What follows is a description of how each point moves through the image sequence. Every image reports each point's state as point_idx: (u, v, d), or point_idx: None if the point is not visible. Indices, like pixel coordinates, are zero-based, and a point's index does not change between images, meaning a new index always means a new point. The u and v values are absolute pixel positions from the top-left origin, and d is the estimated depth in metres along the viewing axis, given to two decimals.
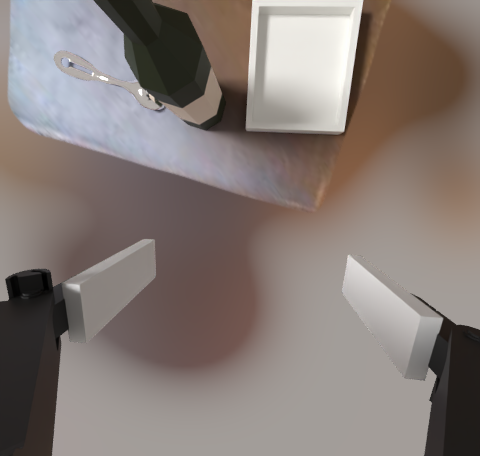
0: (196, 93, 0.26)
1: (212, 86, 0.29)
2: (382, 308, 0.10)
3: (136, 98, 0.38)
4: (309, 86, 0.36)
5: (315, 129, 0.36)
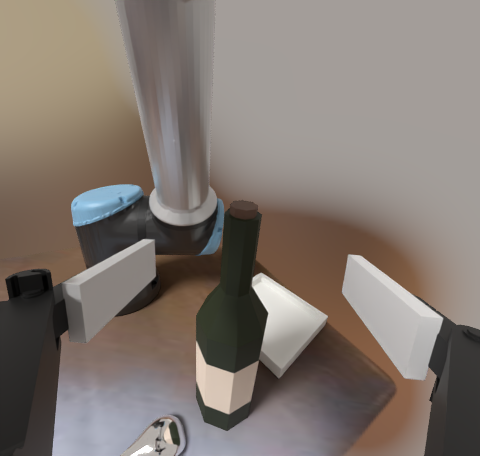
0: None
1: None
2: (382, 308, 0.10)
3: None
4: (281, 316, 0.46)
5: (316, 328, 0.42)
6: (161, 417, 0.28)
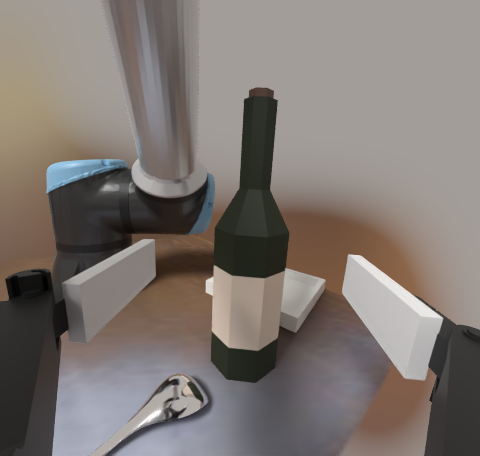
0: None
1: None
2: (382, 308, 0.10)
3: (170, 413, 0.19)
4: None
5: (318, 287, 0.41)
6: (173, 374, 0.23)
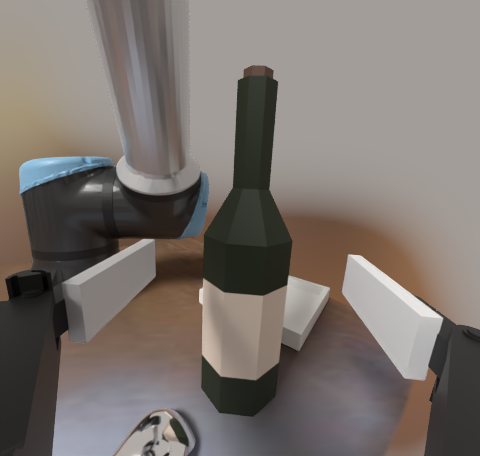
0: None
1: None
2: (382, 308, 0.10)
3: None
4: None
5: (322, 297, 0.38)
6: (153, 410, 0.19)
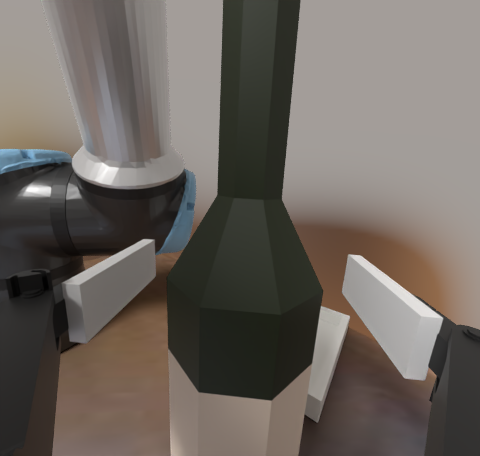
0: None
1: None
2: (382, 308, 0.10)
3: None
4: None
5: (343, 332, 0.29)
6: None
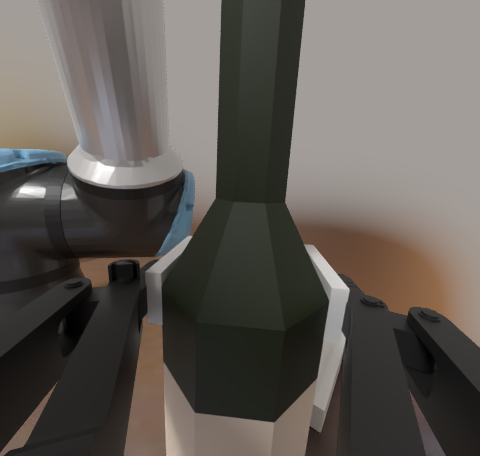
0: None
1: None
2: None
3: None
4: None
5: None
6: None
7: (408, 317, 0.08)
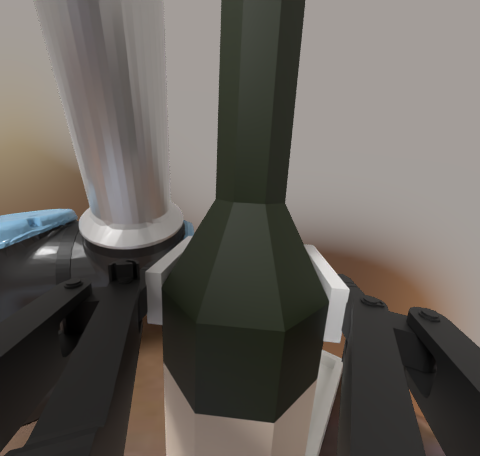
0: None
1: None
2: None
3: None
4: None
5: (336, 380, 0.30)
6: None
7: (408, 317, 0.08)
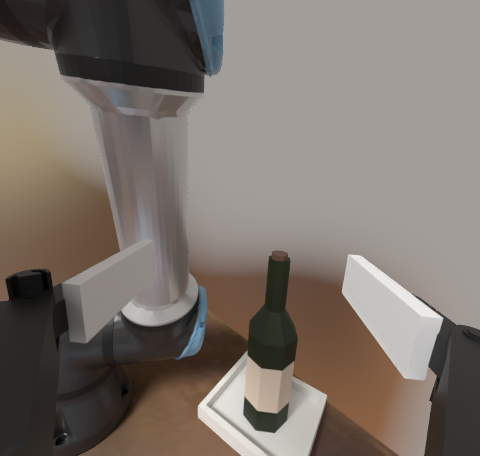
0: None
1: None
2: (382, 308, 0.10)
3: None
4: None
5: (319, 415, 0.38)
6: None
7: None
